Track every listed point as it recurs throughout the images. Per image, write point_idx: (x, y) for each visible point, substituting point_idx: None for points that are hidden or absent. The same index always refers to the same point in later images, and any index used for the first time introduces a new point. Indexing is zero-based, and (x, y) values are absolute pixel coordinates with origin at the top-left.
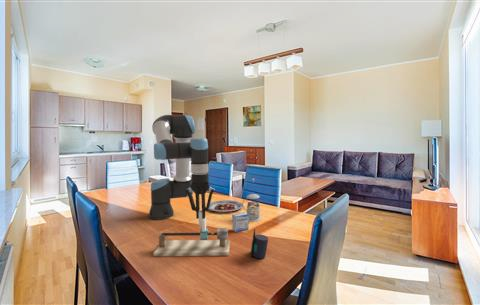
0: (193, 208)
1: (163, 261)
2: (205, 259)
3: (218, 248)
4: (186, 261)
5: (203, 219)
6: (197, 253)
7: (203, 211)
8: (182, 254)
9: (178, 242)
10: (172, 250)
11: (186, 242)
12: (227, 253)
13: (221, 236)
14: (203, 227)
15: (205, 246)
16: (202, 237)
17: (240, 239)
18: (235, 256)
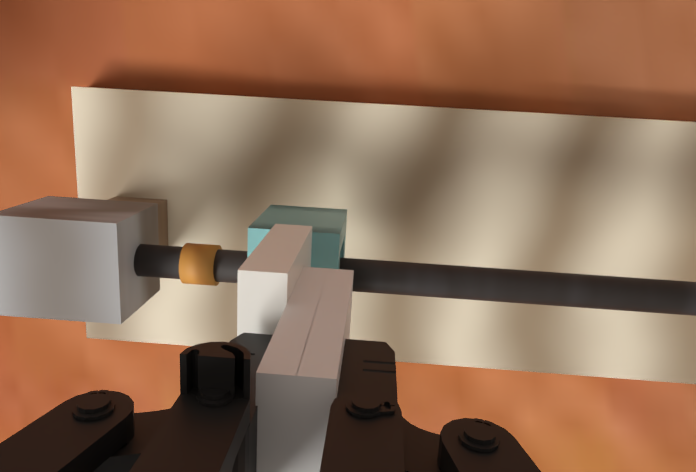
0: (474, 452)
1: (684, 17)
2: (290, 28)
3: (175, 168)
4: (463, 2)
5: (264, 322)
6: (371, 104)
7: (203, 350)
8: (516, 111)
9: (585, 329)
10: (627, 164)
11: (504, 321)
12: (88, 87)
13: (92, 206)
14: (281, 237)
15: None
16: (318, 215)
17: (13, 382)
18: (25, 65)
